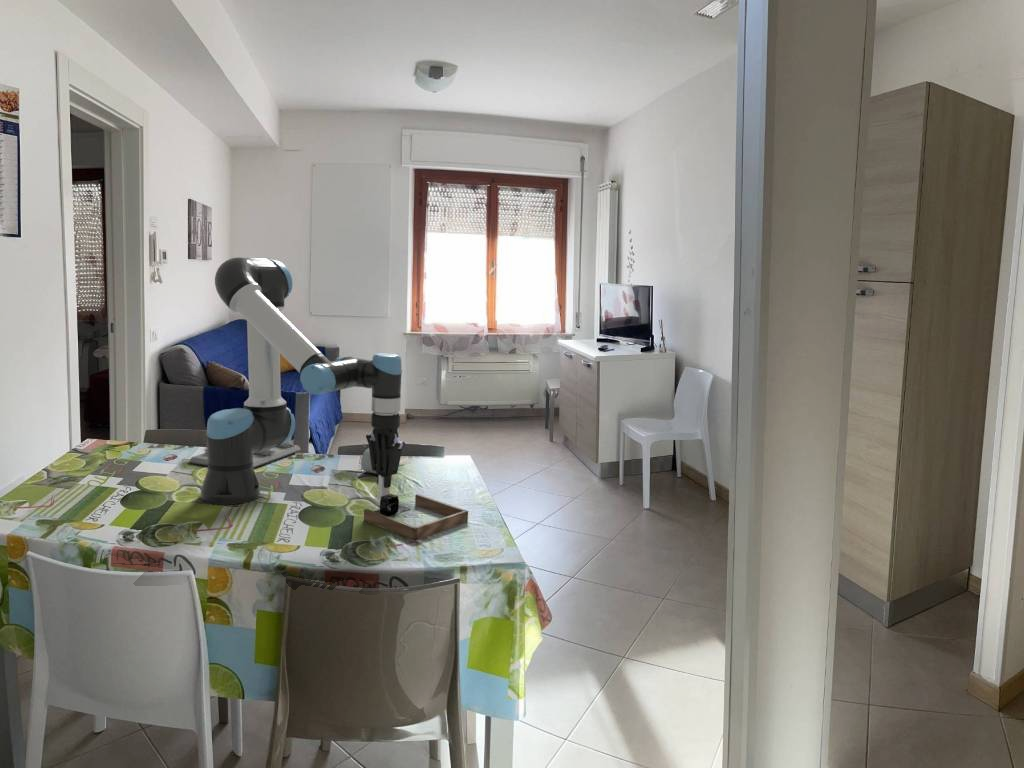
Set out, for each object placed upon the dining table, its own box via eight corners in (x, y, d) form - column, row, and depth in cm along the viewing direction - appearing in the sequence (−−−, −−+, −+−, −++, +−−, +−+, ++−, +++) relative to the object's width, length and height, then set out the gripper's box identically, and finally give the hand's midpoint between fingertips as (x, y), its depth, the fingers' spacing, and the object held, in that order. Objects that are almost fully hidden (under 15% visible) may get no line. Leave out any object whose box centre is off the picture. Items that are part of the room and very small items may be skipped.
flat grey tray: (250, 444, 260) (250, 424, 259) (302, 452, 253) (302, 432, 252) (187, 464, 232) (186, 442, 231) (244, 474, 225) (244, 451, 224)
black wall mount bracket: (380, 522, 192) (380, 504, 191) (361, 514, 196) (362, 498, 196) (415, 510, 201) (415, 494, 201) (396, 504, 206) (397, 488, 205)
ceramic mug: (381, 478, 227) (382, 454, 226) (360, 473, 231) (360, 449, 230) (401, 471, 237) (402, 447, 236) (380, 466, 240) (380, 443, 239)
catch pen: (414, 540, 179) (415, 528, 179) (363, 520, 191) (364, 509, 190) (467, 521, 194) (468, 510, 193) (417, 504, 205) (417, 494, 205)
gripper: (413, 414, 195) (410, 500, 198) (380, 406, 203) (378, 489, 206) (392, 418, 189) (389, 507, 193) (358, 410, 197) (356, 495, 201)
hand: (383, 498), depth 199 cm, fingers closed
